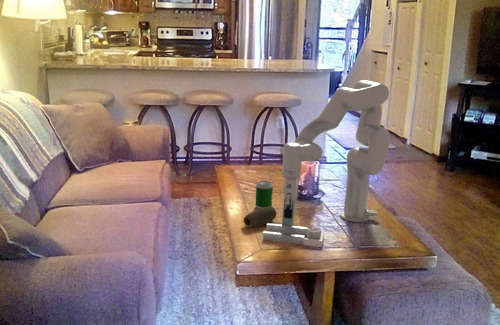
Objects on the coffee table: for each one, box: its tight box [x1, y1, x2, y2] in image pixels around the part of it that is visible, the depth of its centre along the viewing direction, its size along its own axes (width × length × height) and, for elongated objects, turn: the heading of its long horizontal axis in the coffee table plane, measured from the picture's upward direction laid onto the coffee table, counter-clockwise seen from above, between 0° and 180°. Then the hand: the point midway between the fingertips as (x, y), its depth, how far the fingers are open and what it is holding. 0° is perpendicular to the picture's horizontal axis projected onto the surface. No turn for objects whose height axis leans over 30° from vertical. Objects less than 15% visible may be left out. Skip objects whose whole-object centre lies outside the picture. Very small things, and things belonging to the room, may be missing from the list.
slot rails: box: [262, 222, 308, 246], centre depth 201 cm, size 16×10×3 cm, turn 78°
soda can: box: [255, 180, 274, 210], centre depth 230 cm, size 8×8×12 cm
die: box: [306, 227, 322, 240], centre depth 197 cm, size 5×5×5 cm
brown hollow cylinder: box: [242, 206, 277, 228], centre depth 212 cm, size 15×7×7 cm, turn 138°
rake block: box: [281, 199, 296, 226], centre depth 209 cm, size 4×6×12 cm, turn 168°
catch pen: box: [303, 227, 325, 248], centre depth 199 cm, size 7×11×2 cm, turn 168°
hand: (289, 214), depth 209 cm, fingers closed on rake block, 6 cm apart
